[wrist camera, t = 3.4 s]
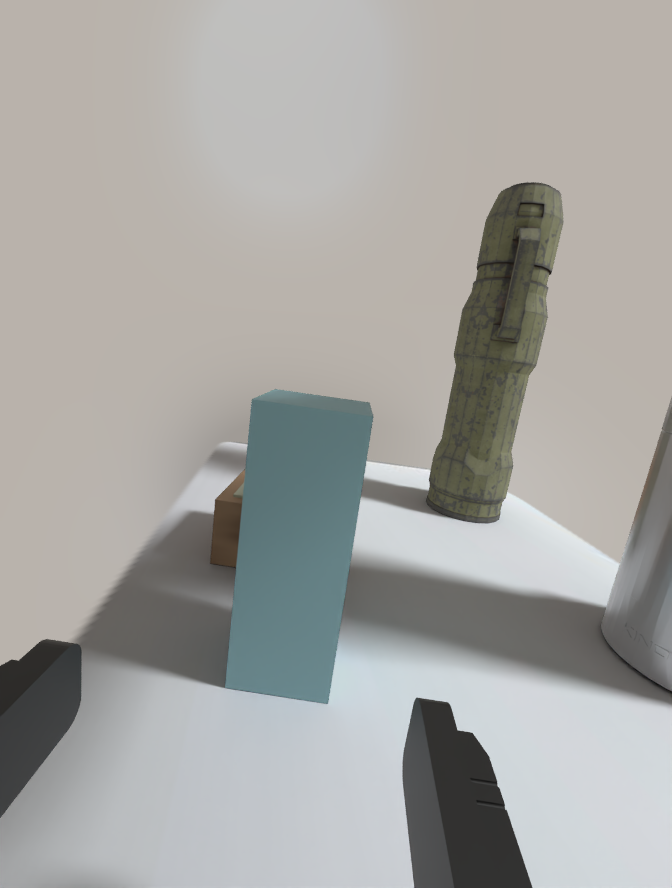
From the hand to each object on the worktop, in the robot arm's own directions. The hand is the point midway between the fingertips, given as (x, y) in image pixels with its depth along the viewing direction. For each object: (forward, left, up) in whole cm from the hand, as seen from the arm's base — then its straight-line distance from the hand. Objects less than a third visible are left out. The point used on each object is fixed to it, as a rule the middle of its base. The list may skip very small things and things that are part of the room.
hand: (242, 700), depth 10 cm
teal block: (-6, -9, -8) cm, 14 cm away
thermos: (-36, -25, -8) cm, 44 cm away
